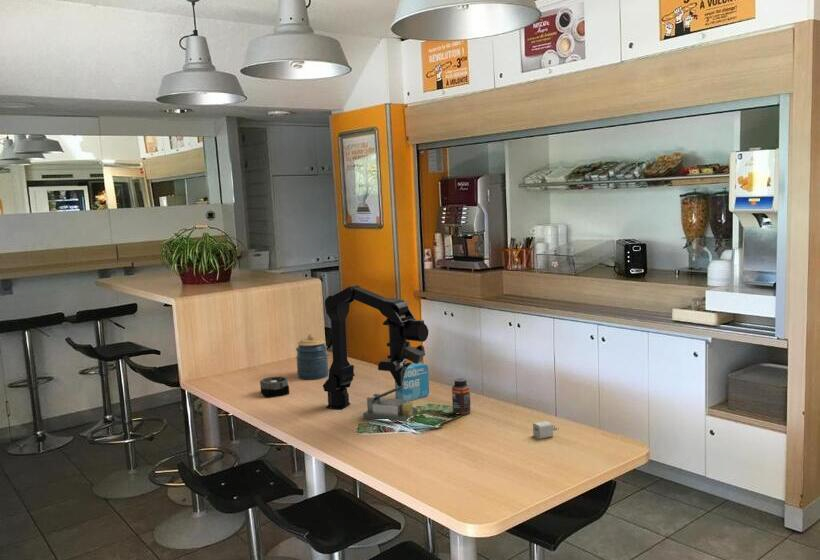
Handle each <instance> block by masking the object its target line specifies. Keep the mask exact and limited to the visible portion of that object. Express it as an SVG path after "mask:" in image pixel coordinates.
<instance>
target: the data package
mask: <svg viewBox="0 0 820 560" xmlns="http://www.w3.org/2000/svg"><path fill="white" fill-rule="evenodd" d="M429 372H430V371H429V366H428V364H426V363H424V362H419V363H418V364H415V363H413V362H412V363H411V365H410V366H409V367H408V368H407V369H406V371H405V375H404V379H403V383H402V385H403V388H402V389H400V390H397V391H395V392H394V395H395V399H402V400H407V402H410V401H414V400H418V399H422V398H426V397H428V396H429V395H430V380H429V379H430V374H429ZM397 387H399V386H398V385H397V383H396V381H395V380H394V389H395V388H397Z"/></svg>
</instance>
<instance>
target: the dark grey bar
mask: <svg viewBox="0 0 820 560" xmlns="http://www.w3.org/2000/svg"><path fill="white" fill-rule="evenodd" d="M402 388H403V385H402V386H399V387H397V388H395V387H394V388H392V389H391V390H390V389H389V390H388V391H386V392H383V393H380V395H378V396H374V395H373V396H372V397H371V398H374V401H376V400H377V399H379V398H380V399H382V398H384V397H386V396H388V395H390V394H392V393H395V391H397V390H400V389H402Z"/></svg>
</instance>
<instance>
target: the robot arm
mask: <svg viewBox="0 0 820 560" xmlns="http://www.w3.org/2000/svg"><path fill="white" fill-rule="evenodd" d="M355 301H357V302H359V303H362V304H364V305H367V306H369V307H371V308H374V309H376V310H378V311H379V312H380V314H381V315H382V316H384V317H385V318H386V320H384V321H383V322H382V325H384V326H388V342H386V346H387V347H388V348H389V354H387V358H385V359H383V360H381V361H379V362H378V363H377V370H378V371H383V372H390V374H391V376H392V378H393V379H394V382H395V381H396V383H397V385H398V386H402V383H403V379H404V375H405V371H406V369H407V368H408V367H409V366H410V365H411V364H413V363H415V364H418V363H423V362H422V361H423V359H424V356H426V351H425V347H424V345H421V344H419V345H417V346H411V341H412V342H421V343H424V342H426V341H427V339H428V336H429V329H428V325H426V324H425V320H424V319H416V317H415V315H414V314H413V312H412V311H411V309H410V307H409V306H408V302H407V301H406V300H404V299H400V298H396V297H395V298H394V297H386V296H382V295H381V294H378V293H376V292H373V291H370V290H367V289H366V288H363V287H361V286H360V285H357V284H355V285H350V286H347V287H345V288H344V289H343V290H341V291H339V292H337V293H335V294H332V295H329V296H327V297H326V298H325V299H324V307H325V312H326V315H327V316H328V318H329V320H330V327H331V328H330V329H331V346H332V348H331V349H332V363H331V364H330V368H329V373H328V378H327V379H326V381H325V382H324V383H323V384H322V387H323V391H324V392H327V405H326V406H325V408H326V409H335V410H343V409H344V408H346V407H348V406H350V405H351V402H350V397H349V392H348V388H350V387H351V384H352V381H353V380H354V377H355V372H354V370H355V366H354V364H350V362H349V361H348V348H347V346H348V345H347V329H346V327H347V326H346V325H347V324H346V318H347V317H348V316H349V315H348V314H349V313H350V304H352V303H353V302H355ZM408 361H410V362H408Z"/></svg>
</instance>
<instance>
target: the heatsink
mask: <svg viewBox="0 0 820 560" xmlns="http://www.w3.org/2000/svg"><path fill="white" fill-rule="evenodd" d="M378 395H381V393H373V396H378ZM366 405H367V406H366V407H367V410H366V411H364V412H363V414H362V415H363V418H362V419H363V420H367V421H368V420H369V421H373V420H372V419H389V420H399V421H406V420H407V419H408V418H410V417H411V416H413V415H414V414H415V413H417V414H418V408H415V407H414V406H413V405H414V404H413V402H410V401H407V400H402V399H397V398H389V397H381V398H379V399H377V400H376V401H374V398H372V397H370V396H369V397H367V398H366Z"/></svg>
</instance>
